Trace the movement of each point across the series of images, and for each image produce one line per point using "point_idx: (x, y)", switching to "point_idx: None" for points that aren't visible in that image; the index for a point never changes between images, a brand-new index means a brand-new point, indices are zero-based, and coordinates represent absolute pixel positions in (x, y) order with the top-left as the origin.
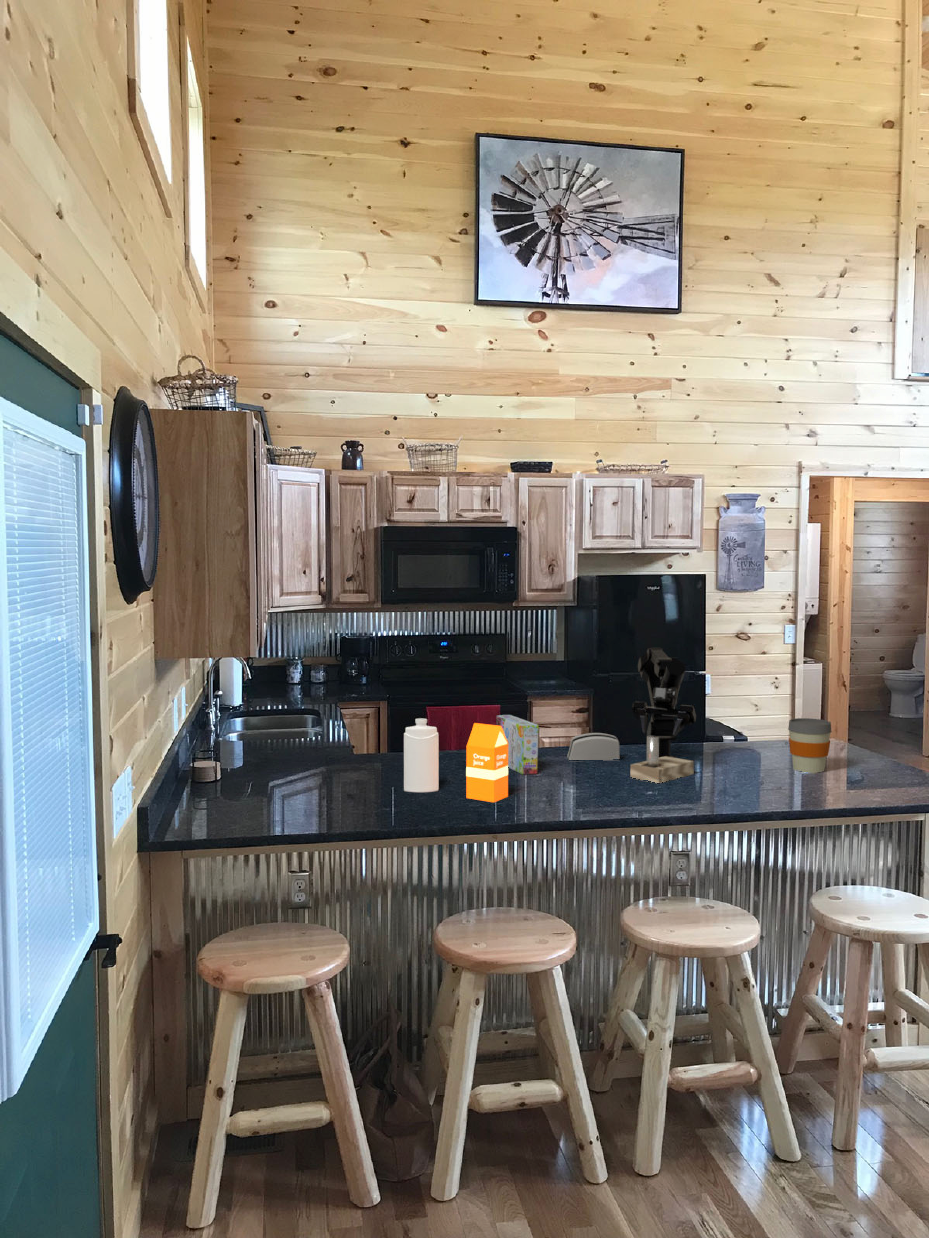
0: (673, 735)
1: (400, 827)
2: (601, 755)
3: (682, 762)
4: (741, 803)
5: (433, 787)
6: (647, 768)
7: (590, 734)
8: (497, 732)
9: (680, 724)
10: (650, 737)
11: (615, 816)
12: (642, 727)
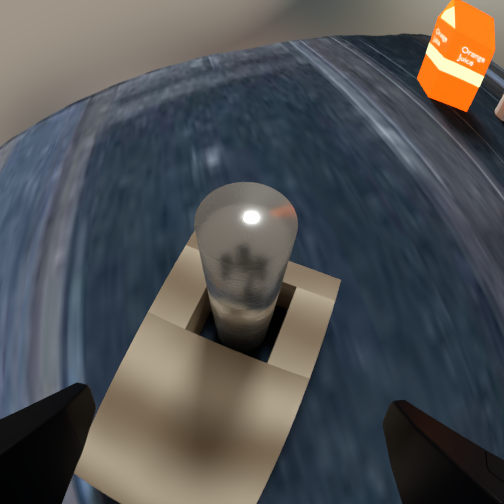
0: (84, 387)
1: (404, 36)
2: None
3: (111, 427)
4: (24, 164)
5: (496, 108)
6: None
7: None
8: (452, 4)
9: None
10: (256, 188)
11: (240, 52)
12: (433, 421)
